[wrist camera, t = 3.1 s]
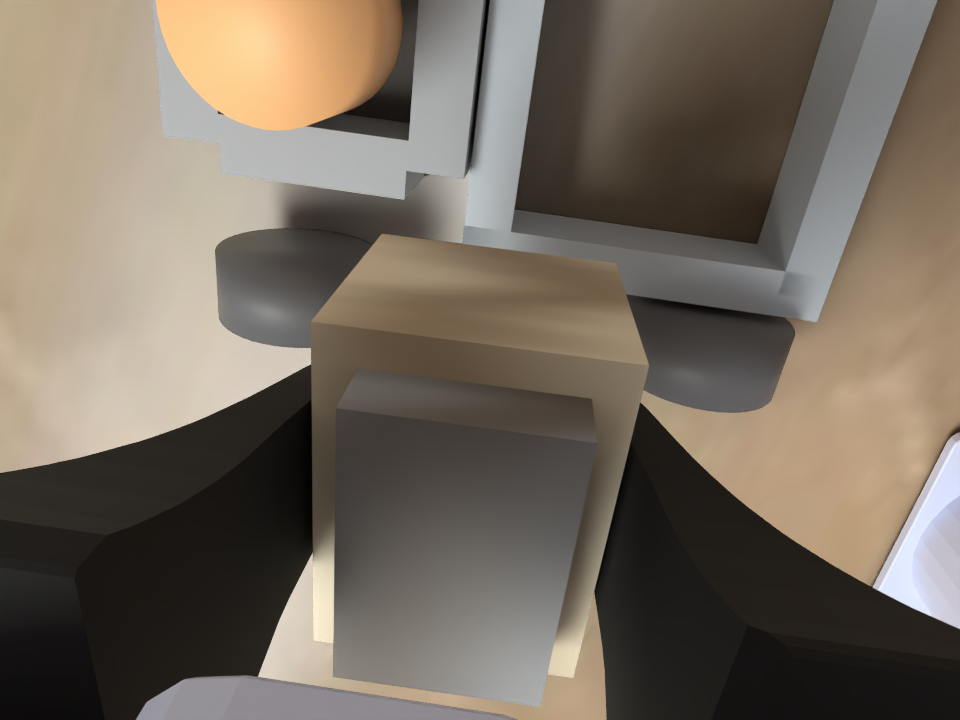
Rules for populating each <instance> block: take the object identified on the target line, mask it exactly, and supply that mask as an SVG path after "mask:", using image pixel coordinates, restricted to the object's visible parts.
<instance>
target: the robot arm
mask: <svg viewBox="0 0 960 720" xmlns="http://www.w3.org/2000/svg"><path fill="white" fill-rule="evenodd" d="M312 552H313V508H312V385H311V365H309V366H307V367H305V368H303V369H301V370H299V371H298V372H296V373H294V374H292V375H290V376H288V377H286V378H285V379H283V380H281V381H279V382H277V383H275V384H273V385H271V386H269V387H268V388H266V389H264V390H262V391H260V392H258V393H256V394H254V395H252V396H250V397H248V398H246V399H244V400H242V401H240V402H238V403H235V404H233V405H231V406H229V407H227V408H225V409H223V410H220V411H218V412H216V413H214V414H212V415H210V416H207V417H205V418H203V419H200V420H198V421H196V422H193V423H191V424H188V425H185V426H183V427H180V428H178V429H175V430H172V431H169V432H166V433H163V434H161V435H158V436H155V437H152V438H149V439H146V440H143V441H140V442H136V443H132V444H129V445H125V446H121V447H118V448H114V449H110V450H107V451H103V452H100V453H96V454H92V455H89V456H85V457H81V458H76V459H72V460H67V461H63V462H58V463H53V464H49V465H43V466H38V467H33V468H27V469H22V470H16V471H10V472H4V473H0V720H517V719H514V718H511V717H509V716H506V715H502V714H496V713H489V712H483V711H476V710H470V709H463V708H457V707H450V706H444V705H437V704H431V703H424V702H418V701H411V700H404V699H398V698H391V697H385V696H378V695H372V694H365V693H359V692H352V691H346V690H339V689H333V688H326V687H320V686H313V685H307V684H300V683H294V682H287V681H281V680H274V679H267V678H261V677H258V675H259V672H260V669H261V667H262V664H263V661H264V659H265V656H266V653H267V651H268V648H269V646H270V643H271V640H272V638H273V635H274V632H275V630H276V627H277V624H278V622H279V619H280V617H281V615H282V613H283V611H284V608H285V606H286V604H287V602H288V600H289V597H290V596H291V594H292V592H293V590H294V588H295V586H296V584H297V582H298V580H299V578H300V576H301V574H302V572H303V570H304V568H305V566H306V564H307V562H308V560H309V558H310V556H311V554H312ZM594 592H595V599H596V605H597V612H598V619H599V626H600V633H601V639H602V647H603V657H604V667H605V687H606V713H607V720H960V432H959V433H956V434H955V435H953V436H952V437H951V438H950V439H949V440H948V442H947V443H946V445H945V447H944V449H943V451H942V453H941V455H940V457H939V459H938V461H937V463H936V465H935V467H934V469H933V470H932V472H931V474H930V476H929V478H928V480H927V482H926V484H925V486H924V488H923V490H922V492H921V494H920V496H919V498H918V500H917V502H916V504H915V506H914V507H913V509H912V511H911V513H910V515H909V517H908V519H907V521H906V523H905V525H904V527H903V529H902V531H901V533H900V535H899V537H898V539H897V541H896V543H895V544H894V546H893V548H892V550H891V552H890V554H889V556H888V558H887V560H886V562H885V564H884V566H883V568H882V570H881V572H880V574H879V576H878V578H877V580H876V582H875V583H874V585H873V587H871V586H869V585H867V584H865V583H863V582H861V581H859V580H858V579H856V578H854V577H852V576H850V575H849V574H847V573H845V572H843V571H842V570H840V569H838V568H836V567H835V566H833V565H831V564H830V563H828V562H827V561H825V560H823V559H822V558H820V557H819V556H817V555H815V554H814V553H812V552H811V551H809V550H807V549H806V548H804V547H803V546H801V545H799V544H798V543H796V542H795V541H793V540H792V539H790V538H789V537H788V536H786V535H785V534H783V533H782V532H780V531H779V530H777V529H776V528H775V527H773V526H772V525H771V524H769V523H768V522H767V521H765V520H764V519H763V518H761V517H760V516H759V515H757V514H756V513H755V512H753V511H752V510H751V509H749V508H748V507H747V506H746V505H744V504H743V503H742V502H741V501H740V500H738V499H737V498H736V497H735V496H734V495H732V494H731V493H730V492H729V491H728V490H727V489H726V488H725V487H723V486H722V485H721V484H720V483H719V482H718V481H717V480H716V479H715V478H713V477H712V476H711V475H710V474H709V473H708V472H707V471H706V470H705V469H704V468H703V467H702V466H701V465H700V464H699V463H698V462H697V461H696V460H695V459H694V458H693V457H692V456H691V455H690V454H689V453H688V452H687V451H686V450H685V449H684V448H683V447H682V446H681V445H680V444H679V443H678V442H677V441H676V440H675V439H674V438H673V436H672V435H671V434H670V433H669V432H668V431H667V430H666V429H665V428H664V427H663V426H662V425H661V423H660V422H659V421H658V420H657V419H656V418H655V417H654V416H653V415H652V414H651V413H650V412H649V410H648V409H647V408H646V407H645V406H644V405H642V404H641V403H640V405H639V409H638V413H637V418H636V422H635V426H634V430H633V434H632V438H631V442H630V446H629V450H628V455H627V459H626V463H625V467H624V471H623V475H622V479H621V483H620V487H619V492H618V496H617V500H616V504H615V508H614V512H613V516H612V520H611V524H610V529H609V533H608V537H607V541H606V545H605V549H604V553H603V557H602V561H601V566H600V570H599V574H598V578H597V582H596V586H595V590H594Z"/></svg>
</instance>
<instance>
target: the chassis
mask: <svg viewBox="0 0 960 720" xmlns="http://www.w3.org/2000/svg"><path fill="white" fill-rule="evenodd" d="M937 1H938V0H834V2H833V5H832V8H831V12H830V15H829V18H828V21H827V24H826V27H825V31H824V34H823V37H822V40H821V43H820V47H819V50H818V53H817V56H816V59H815V62H814V66H813V69H812V72H811V75H810V78H809V81H808V85H807V88H806V91H805V94H804V97H803V101H802V104H801V107H800V110H799V113H798V116H797V120H796V123H795V126H794V129H793V132H792V135H791V139H790V142H789V145H788V148H787V151H786V155H785V158H784V161H783V164H782V167H781V170H780V174H779V177H778V180H777V183H776V186H775V189H774V193H773V196H772V199H771V202H770V205H769V209H768V212H767V215H766V218H765V221H764V224H763V228H762V231H761V234H760V237H759V240H758V243H757V244H752V243H745V242H738V241H731V240H724V239H717V238H710V237H703V236H696V235H689V234H682V233H675V232H669V231H662V230H655V229H648V228H641V227H634V226H627V225H620V224H613V223H606V222H599V221H592V220H585V219H578V218H571V217H564V216H557V215H550V214H543V213H536V212H529V211H522V210H515V205H516V198H517V191H518V184H519V178H520V171H521V164H522V157H523V150H524V143H525V137H526V130H527V123H528V116H529V109H530V102H531V95H532V89H533V82H534V75H535V68H536V61H537V54H538V48H539V41H540V34H541V27H542V20H543V13H544V7H545V0H419V3H418V17H417V31H416V45H415V59H414V72H413V86H412V100H411V114H410V123H404V122H397V121H390V120H383V119H376V118H369V117H361V116H354V115H347V114H338V115H335V116H332V117H330V118H327V119H324V120H322V121H319V122H316V123H313V124H311V125H308V126H305V127H302V128H297V129H292V130H280V131H276V130H264V129H260V128H255V127H251V126H248V125H245V124H242V123H239V122H237V121H235V120H233V119H231V118H229V117H227V116H226V115H224V114H223V113H221V112H219V111H218V110H216V109H215V108H214V107H212V106H211V105H210V104H209V103H208V102H206V101H205V100H204V99H203V98H202V97H201V96H200V95H199V94H198V93H197V92H196V91H195V90H194V89H193V88H192V87H191V85H190V84H189V83H188V81H187V80H186V79H185V78H184V76H183V75H182V73H181V72H180V70H179V69H178V67H177V65H176V64H175V62H174V60H173V58H172V56H171V54H170V52H169V50H168V48H167V45H166V42H165V40H164V37H163V34H162V31H161V27H160V23H159V19H158V14H157V7H156V0H152V9H153V21H154V33H155V45H156V57H157V69H158V81H159V93H160V104H161V116H162V128H163V136H165V137H172V138H179V139H186V140H193V141H200V142H207V143H214V144H220V165H221V174H228V175H235V176H242V177H249V178H256V179H263V180H270V181H277V182H284V183H291V184H298V185H305V186H312V187H319V188H326V189H333V190H340V191H347V192H354V193H360V194H367V195H374V196H381V197H388V198H395V199H402V200H405V198H406V197H407V196H408V195H409V194H410V193H411V192H412V190H413V189H414V188H415V187H416V186H417V185H418V183H419V182H420V181H421V180H422V179H423V178H424V173H425V174H432V175H439V176H446V177H453V178H460V179H464V178H465V176H466V174H467V173H468V171H469V169H470V167H471V171H470V180H469V189H468V198H467V206H466V215H465V224H464V233H463V242H462V244H468V245H476V246H484V247H492V248H500V249H508V250H516V251H524V252H531V253H539V254H547V255H555V256H563V257H571V258H579V259H587V260H595V261H603V262H611V263H616V265H617V268H618V271H619V275H620V278H621V281H622V284H623V287H624V290H625V293H626V296H627V299H628V302H629V305H630V308H631V311H632V314H633V318H634V321H635V324H636V327H637V330H638V333H639V336H640V339H641V342H642V345H643V348H644V351H645V354H646V357H647V360H648V364H649V368H648V372H647V376H646V381H645V385H644V389H643V390H645V391H647V392H649V393H651V394H653V395H655V396H657V397H660V398H662V399H665V400H668V401H670V402H673V403H677V404H680V405H683V406H687V407H691V408H696V409H701V410H707V411H714V412H728V413H735V412H748V411H752V410H757V409H759V408H762V407H764V406H765V405H767V404H768V403H769V402H770V401H771V399H772V397H773V394H774V392H775V389H776V386H777V383H778V381H779V378H780V375H781V372H782V370H783V367H784V364H785V361H786V359H787V356H788V353H789V350H790V348H791V345H792V342H793V339H794V337H795V330H794V328H793V326H792V325H791V324H790V323H789V322H788V321H787V320H786V319H785V318H792V319H799V320H806V321H813V322H817V320H818V318H819V315H820V312H821V310H822V307H823V304H824V302H825V299H826V296H827V294H828V291H829V288H830V286H831V283H832V280H833V278H834V275H835V272H836V270H837V267H838V264H839V262H840V259H841V256H842V254H843V251H844V248H845V246H846V243H847V240H848V238H849V235H850V232H851V230H852V227H853V224H854V222H855V219H856V216H857V214H858V211H859V208H860V206H861V203H862V200H863V198H864V195H865V192H866V190H867V187H868V184H869V182H870V179H871V176H872V174H873V171H874V168H875V166H876V163H877V160H878V158H879V155H880V152H881V150H882V147H883V144H884V142H885V139H886V136H887V134H888V131H889V128H890V126H891V123H892V120H893V118H894V115H895V112H896V110H897V107H898V104H899V102H900V99H901V96H902V94H903V91H904V88H905V86H906V83H907V80H908V78H909V75H910V72H911V70H912V67H913V64H914V62H915V59H916V56H917V54H918V51H919V48H920V46H921V43H922V40H923V38H924V35H925V32H926V30H927V27H928V24H929V22H930V19H931V16H932V14H933V11H934V8H935V6H936V3H937ZM371 247H372V244H370V243H368V242H366V241H364V240H361V239H358V238H355V237H352V236H348V235H344V234H339V233H334V232H328V231H321V230H311V229H266V230H257V231H251V232H246V233H241V234H238V235H234V236H232V237H229V238H227V239H225V240H223V241H222V242H220V243H219V244H218V245H217V247H216V250H215V256H216V274H217V292H218V311H219V319H220V321H221V323H222V324H223V326H224V327H225V328H227V329H228V330H229V331H231V332H232V333H234V334H236V335H238V336H240V337H242V338H245V339H248V340H251V341H254V342H258V343H262V344H267V345H273V346H281V347H293V348H311V321H312V320H313V318H314V317H315V316H316V315H317V313H318V312H319V311H320V310H321V308H322V307H323V306H324V305H325V303H326V302H327V301H328V300H329V299H330V297H331V296H332V295H333V294H334V292H335V291H336V290H337V289H338V287H339V286H340V285H341V284H342V282H343V281H344V280H345V279H346V278H347V276H348V275H349V274H350V273H351V271H352V270H353V269H354V268H355V266H356V265H357V264H358V263H359V261H360V260H361V259H362V258H363V256H364V255H365V254H366V253H367V252H368V250H369V249H370V248H371ZM784 317H785V318H784Z"/></svg>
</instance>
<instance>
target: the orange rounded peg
mask: <svg viewBox="0 0 960 720" xmlns="http://www.w3.org/2000/svg"><path fill="white" fill-rule="evenodd" d="M156 7H157V14H158V19H159V23H160V27H161V31H162V34H163V37H164V40H165V42H166V45H167V48H168V50H169V52H170V54H171V56H172V58H173V60H174V62H175V64H176V65H177V67H178V69H179V70H180V72H181V73H182V75H183V76H184V78H185V79H186V80H187V81H188V83H189V84H190V85H191V87H192V88H193V89H194V90H195V91H196V92H197V93H198V94H199V95H200V96H201V97H202V98H203V99H204V100H205V101H206V102H208V103H209V104H210V105H211V106H212V107H214V108H215V109H216V110H218V111H219V112H221V113H223V114H224V115H226V116H227V117H229V118H231V119H233V120H235V121H237V122H239V123H242V124H245V125H248V126H251V127H255V128H260V129H264V130H276V131H280V130H292V129H297V128H302V127H305V126H308V125H311V124H313V123H316V122H319V121H322V120H324V119H327V118H330V117H332V116H335V115H338V114H341V113H343V112H346V111H349V110H351V109H354V108H356V107H358V106H360V105H361V104H363V103H365V102H366V101H368V100H369V99H370V98H371V97H373V96H374V95H375V94H376V93H377V92H378V91H379V90H380V89H381V88H382V86H383V85H384V84H385V82H386V81H387V79H388V78H389V76H390V74H391V72H392V71H393V69H394V67H395V64H396V61H397V59H398V56H399V52H400V48H401V43H402V35H403V13H402V5H401V0H156Z"/></svg>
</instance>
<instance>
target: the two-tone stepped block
mask: <svg viewBox="0 0 960 720" xmlns="http://www.w3.org/2000/svg"><path fill="white" fill-rule="evenodd" d="M648 368H649V364H648V360H647V357H646V354H645V351H644V348H643V345H642V342H641V339H640V336H639V333H638V330H637V327H636V324H635V321H634V318H633V314H632V311H631V308H630V305H629V302H628V299H627V296H626V293H625V290H624V287H623V284H622V281H621V278H620V275H619V271H618V268H617V265H616V263H611V262H603V261H595V260H587V259H579V258H571V257H563V256H555V255H547V254H539V253H531V252H524V251H516V250H508V249H500V248H492V247H484V246H476V245H468V244H460V243H452V242H444V241H436V240H428V239H421V238H413V237H405V236H397V235H389V234H381V235H380V237H379V238H378V239H377V240H376V242H375V243H374V244H373V245H372V247H371V248H370V249H369V250H368V252H367V253H366V254H365V255H364V256H363V258H362V259H361V260H360V261H359V263H358V264H357V265H356V266H355V268H354V269H353V270H352V271H351V273H350V274H349V275H348V276H347V278H346V279H345V280H344V281H343V282H342V284H341V285H340V286H339V287H338V289H337V290H336V291H335V292H334V294H333V295H332V296H331V297H330V299H329V300H328V301H327V302H326V303H325V305H324V306H323V307H322V308H321V310H320V311H319V312H318V313H317V315H316V316H315V317H314V318H313V320H312V321H311V385H312V508H313V632H314V640H315V641H322V642H329V643H333V677H338V678H344V679H351V680H358V681H365V682H372V683H379V684H386V685H392V686H399V687H406V688H413V689H420V690H427V691H434V692H441V693H447V694H454V695H461V696H468V697H475V698H482V699H489V700H495V701H502V702H509V703H516V704H523V705H530V706H537V707H540V706H541V701H542V697H543V692H544V688H545V683H546V678H547V674H550V675H557V676H564V677H571V678H573V677H574V672H575V668H576V664H577V660H578V656H579V652H580V648H581V644H582V640H583V635H584V631H585V627H586V623H587V619H588V615H589V611H590V607H591V603H592V598H593V594H594V590H595V586H596V582H597V578H598V574H599V570H600V566H601V561H602V557H603V553H604V549H605V545H606V541H607V537H608V533H609V529H610V524H611V520H612V516H613V512H614V508H615V504H616V500H617V496H618V492H619V487H620V483H621V479H622V475H623V471H624V467H625V463H626V459H627V455H628V450H629V446H630V442H631V438H632V434H633V430H634V426H635V422H636V418H637V413H638V409H639V405H640V401H641V397H642V393H643V389H644V385H645V381H646V376H647V372H648Z"/></svg>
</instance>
